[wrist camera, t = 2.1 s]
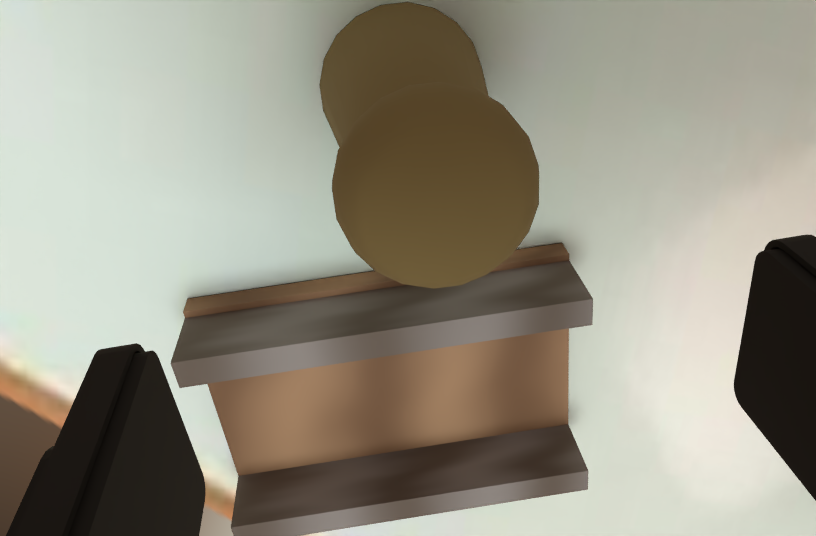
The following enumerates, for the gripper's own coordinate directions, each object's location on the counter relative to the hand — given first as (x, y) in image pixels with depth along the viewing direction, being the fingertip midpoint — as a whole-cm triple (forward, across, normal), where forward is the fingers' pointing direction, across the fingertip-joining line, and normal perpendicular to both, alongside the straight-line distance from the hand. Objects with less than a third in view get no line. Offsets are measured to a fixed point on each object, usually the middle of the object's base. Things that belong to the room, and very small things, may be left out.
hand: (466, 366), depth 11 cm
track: (+17, +1, +13) cm, 21 cm away
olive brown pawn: (+17, -1, 0) cm, 17 cm away
